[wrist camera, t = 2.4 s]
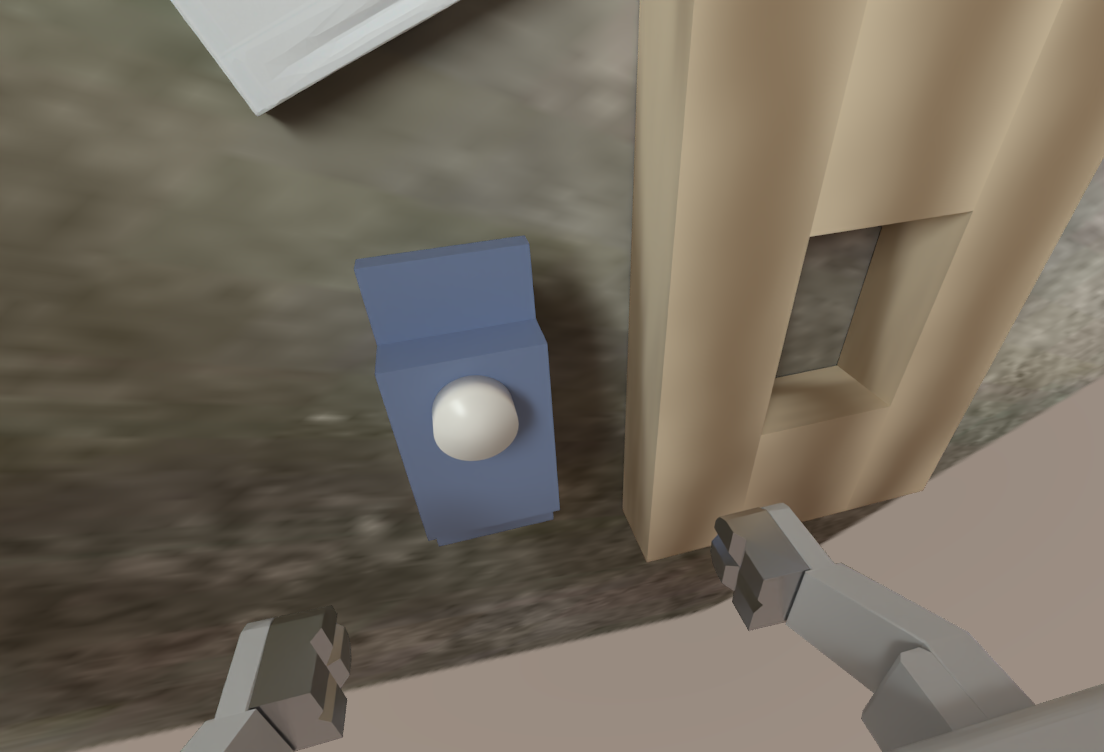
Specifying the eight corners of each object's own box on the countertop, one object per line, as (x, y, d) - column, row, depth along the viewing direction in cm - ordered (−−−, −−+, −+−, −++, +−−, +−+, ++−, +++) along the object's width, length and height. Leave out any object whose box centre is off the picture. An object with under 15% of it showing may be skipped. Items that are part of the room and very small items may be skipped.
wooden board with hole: (622, 509, 24) (646, 562, 22) (640, -23, 12) (697, -36, 10) (875, 448, 26) (922, 490, 24) (1089, -50, 15) (1224, -66, 12)
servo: (433, 469, 20) (442, 603, 15) (364, 219, 14) (344, 311, 9) (532, 448, 21) (569, 571, 16) (503, 201, 15) (550, 278, 10)
